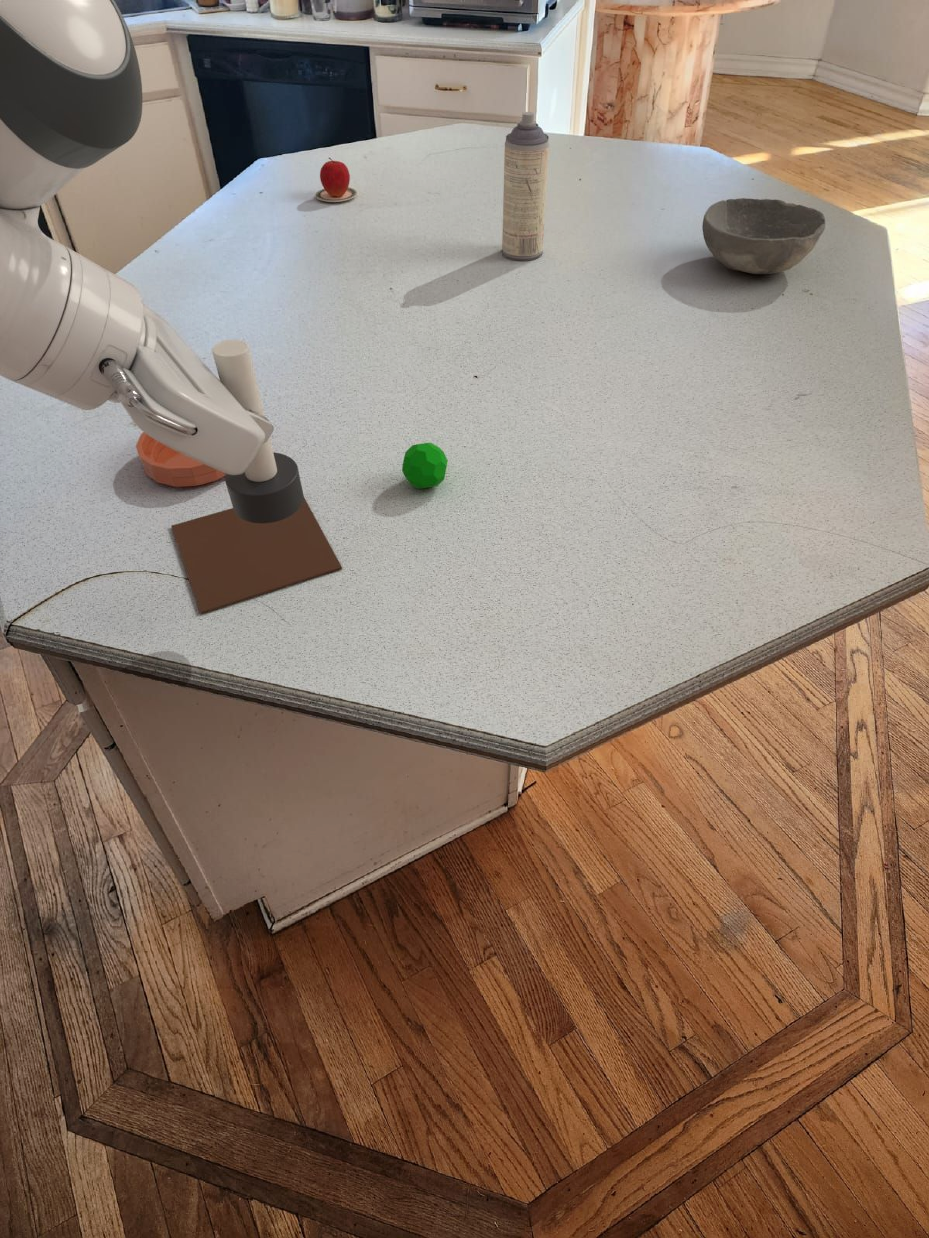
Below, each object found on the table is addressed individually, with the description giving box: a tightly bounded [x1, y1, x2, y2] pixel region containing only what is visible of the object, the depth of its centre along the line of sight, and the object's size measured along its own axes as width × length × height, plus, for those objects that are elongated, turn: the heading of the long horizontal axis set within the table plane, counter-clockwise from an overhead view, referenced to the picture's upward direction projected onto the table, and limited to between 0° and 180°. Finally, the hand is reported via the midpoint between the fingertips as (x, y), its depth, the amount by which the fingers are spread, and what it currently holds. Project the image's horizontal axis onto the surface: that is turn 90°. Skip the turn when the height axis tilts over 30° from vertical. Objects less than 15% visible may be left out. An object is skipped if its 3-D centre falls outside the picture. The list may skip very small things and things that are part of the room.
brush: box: [211, 339, 305, 524], centre depth 60 cm, size 6×6×14 cm
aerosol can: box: [501, 111, 550, 262], centre depth 120 cm, size 7×7×20 cm
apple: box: [315, 157, 358, 203], centre depth 144 cm, size 8×8×6 cm
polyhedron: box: [401, 442, 448, 490], centre depth 82 cm, size 5×5×5 cm
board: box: [170, 497, 343, 615], centre depth 77 cm, size 14×14×1 cm
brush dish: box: [135, 431, 226, 488], centre depth 87 cm, size 12×12×3 cm
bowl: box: [701, 197, 826, 275], centre depth 119 cm, size 18×18×8 cm
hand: (255, 420), depth 59 cm, fingers closed on brush, 2 cm apart
